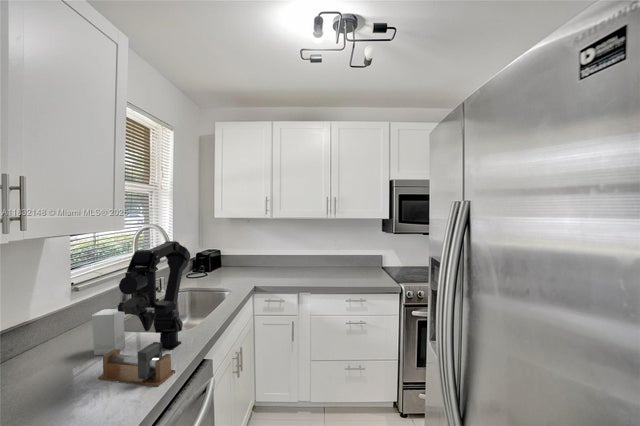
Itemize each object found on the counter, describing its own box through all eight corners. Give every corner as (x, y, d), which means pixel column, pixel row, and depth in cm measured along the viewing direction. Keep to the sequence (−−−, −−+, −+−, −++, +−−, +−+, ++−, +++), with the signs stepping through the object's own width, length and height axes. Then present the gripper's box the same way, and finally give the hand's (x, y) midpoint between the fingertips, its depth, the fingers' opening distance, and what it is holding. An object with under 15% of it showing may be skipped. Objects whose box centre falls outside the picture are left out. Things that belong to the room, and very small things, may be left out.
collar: (138, 378, 95) (137, 352, 95) (154, 366, 102) (154, 341, 102) (146, 379, 94) (146, 352, 94) (162, 367, 102) (162, 342, 101)
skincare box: (125, 347, 120) (124, 308, 120) (114, 355, 113) (114, 314, 113) (104, 347, 120) (103, 308, 119) (92, 355, 113) (91, 314, 113)
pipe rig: (97, 379, 97) (97, 358, 97) (118, 366, 105) (118, 346, 105) (158, 386, 93) (157, 364, 93) (175, 372, 101) (174, 351, 101)
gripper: (103, 291, 98) (104, 338, 99) (153, 294, 95) (154, 343, 95) (130, 282, 109) (131, 325, 110) (176, 285, 106) (177, 329, 106)
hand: (147, 330), depth 105 cm, fingers closed
